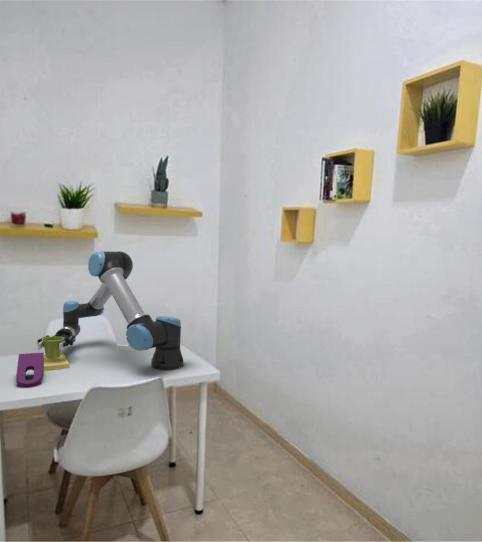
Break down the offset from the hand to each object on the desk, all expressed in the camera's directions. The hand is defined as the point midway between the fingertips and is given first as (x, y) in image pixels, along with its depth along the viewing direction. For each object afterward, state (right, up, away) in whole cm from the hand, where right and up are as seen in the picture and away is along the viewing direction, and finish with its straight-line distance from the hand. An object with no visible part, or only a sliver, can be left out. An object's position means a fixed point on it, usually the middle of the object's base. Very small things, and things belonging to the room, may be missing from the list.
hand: (49, 346), depth 189 cm
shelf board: (-2, -9, +7) cm, 12 cm away
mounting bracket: (-1, -11, -16) cm, 20 cm away
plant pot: (-1, -6, +5) cm, 8 cm away
